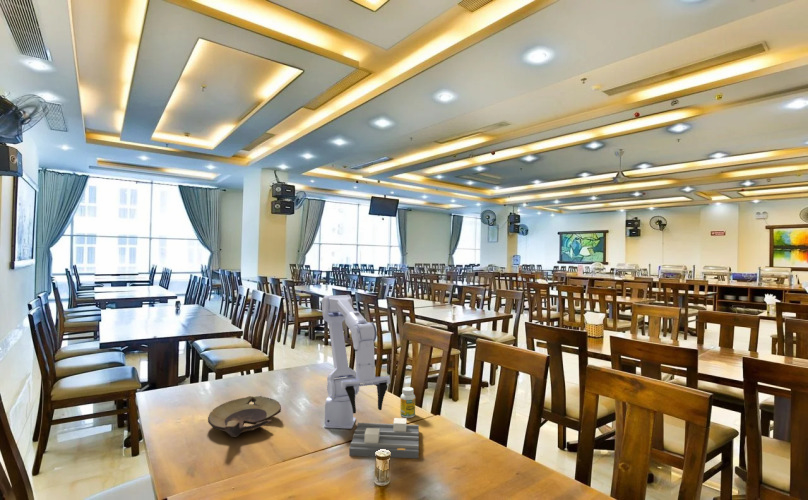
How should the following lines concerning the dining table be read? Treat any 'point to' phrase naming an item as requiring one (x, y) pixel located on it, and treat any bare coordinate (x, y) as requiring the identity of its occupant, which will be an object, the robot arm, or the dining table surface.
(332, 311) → the robot arm
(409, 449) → the switch board
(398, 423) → the far switch tab
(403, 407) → the supplement bottle
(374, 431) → the near switch tab
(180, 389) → the dining table surface
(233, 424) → the grey shallow oval dish
